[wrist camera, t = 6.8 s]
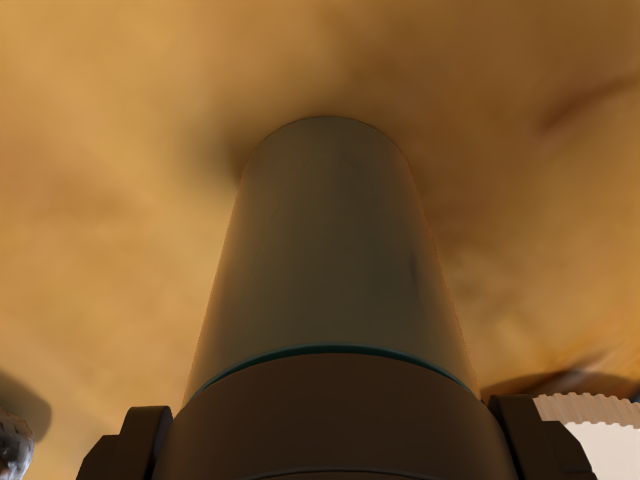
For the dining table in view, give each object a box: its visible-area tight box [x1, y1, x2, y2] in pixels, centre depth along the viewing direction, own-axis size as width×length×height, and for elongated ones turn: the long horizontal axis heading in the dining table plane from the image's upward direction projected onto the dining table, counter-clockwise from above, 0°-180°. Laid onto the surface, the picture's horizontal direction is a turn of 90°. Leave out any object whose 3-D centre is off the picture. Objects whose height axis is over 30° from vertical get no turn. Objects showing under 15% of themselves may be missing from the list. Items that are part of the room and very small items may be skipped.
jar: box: [180, 116, 485, 410], centre depth 14 cm, size 6×6×13 cm
